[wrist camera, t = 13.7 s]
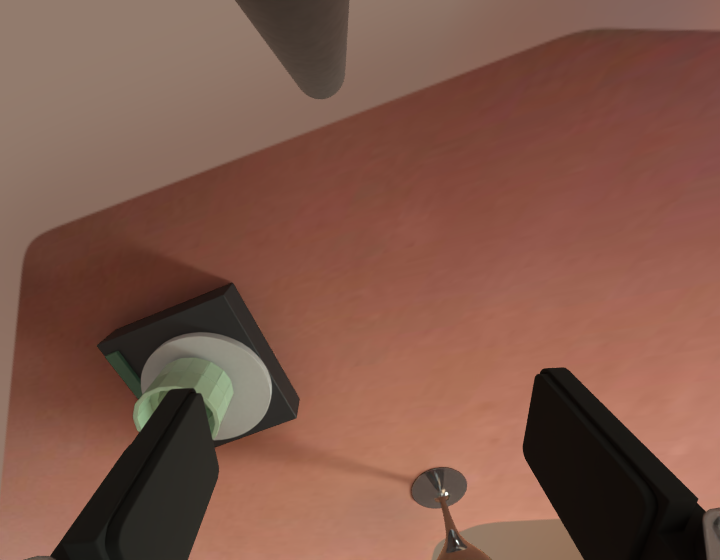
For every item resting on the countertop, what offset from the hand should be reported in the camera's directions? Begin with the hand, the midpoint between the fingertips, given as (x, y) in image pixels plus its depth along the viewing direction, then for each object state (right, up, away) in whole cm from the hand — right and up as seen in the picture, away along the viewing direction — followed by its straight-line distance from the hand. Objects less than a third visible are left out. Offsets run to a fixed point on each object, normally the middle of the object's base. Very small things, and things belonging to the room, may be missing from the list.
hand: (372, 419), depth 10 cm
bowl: (-16, -6, +23) cm, 29 cm away
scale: (-16, -5, +27) cm, 32 cm away
